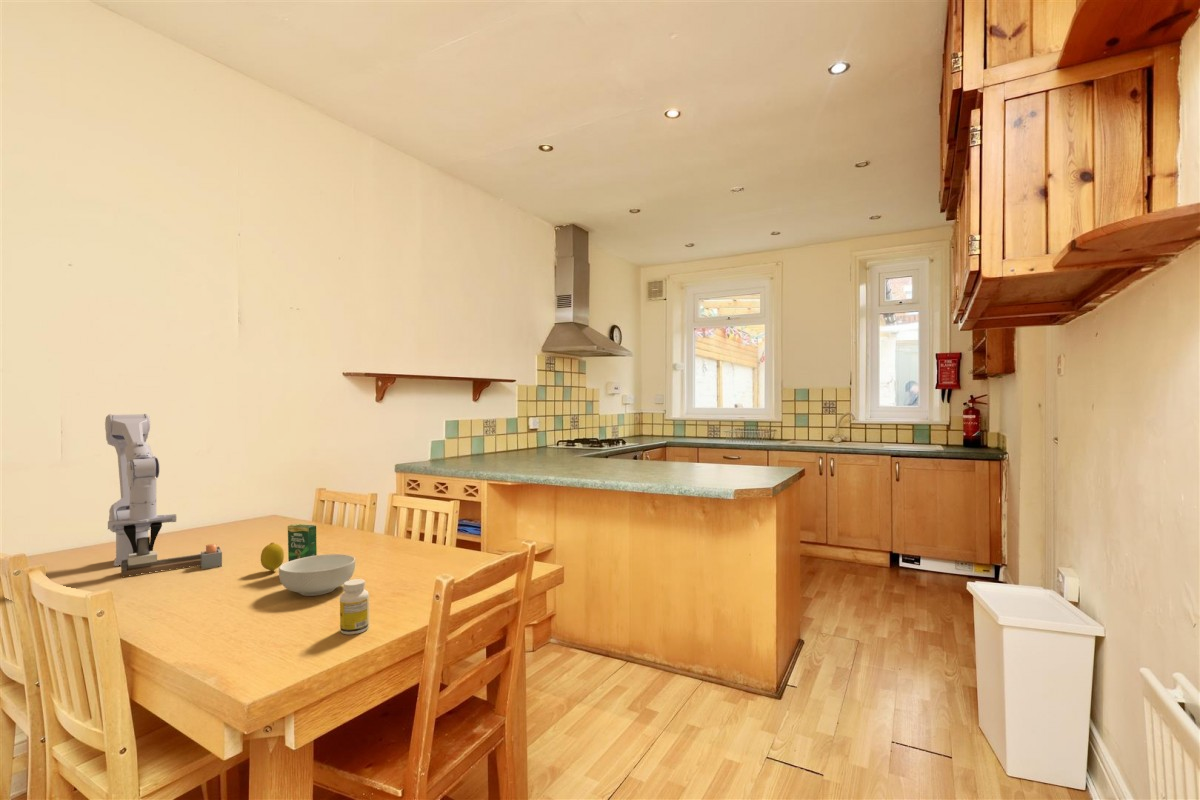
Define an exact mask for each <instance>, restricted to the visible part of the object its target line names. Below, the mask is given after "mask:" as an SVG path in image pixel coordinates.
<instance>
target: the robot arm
mask: <svg viewBox="0 0 1200 800" xmlns="http://www.w3.org/2000/svg"><path fill="white" fill-rule="evenodd" d="M104 426H105V427H104V429H105V440H106V442H107V445H109V446H112V447H114V448H115V451H116V455H117V464H118V465H117V466H118V467H117V468H118V477H119V491H120V499H119V500H117V501H116V502H114V503H113V504H112V505H111V506H110V508H109V510H108V511H109V517H108V521H107V530H110V532H111V533H115V558H114V560H113V561H114V562H113V567H119V565H120V566H121V562H122V560H126V559H128V564H129V554H135V553H137V539H138V538H143V537H149V531H150V551H154V546H155V542H156V539H157V537H158V535H159V533H160V531H161V529H162V527H163V524H165V523H177V514H175V513H173V514H160V515H158V514H157V479H158V478H159V475H160V466H161V465H160V462H159V458H158V457H157V456H156V455H155V456H154V454H153V451H152V448H151V445H150V444H149V443H147V439H148V438H149V433H150V430H151V419H150V416H149V414H147V413H142V414H110V413H109V414H108V415H106V417H105V422H104Z"/></svg>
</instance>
